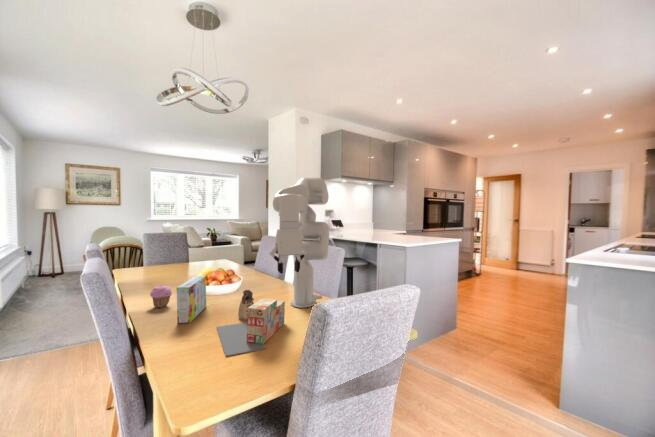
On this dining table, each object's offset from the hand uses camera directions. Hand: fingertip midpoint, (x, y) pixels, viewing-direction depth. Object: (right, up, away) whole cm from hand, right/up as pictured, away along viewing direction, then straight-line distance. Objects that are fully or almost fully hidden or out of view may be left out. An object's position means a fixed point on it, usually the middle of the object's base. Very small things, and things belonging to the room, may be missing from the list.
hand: (288, 271), depth 117 cm
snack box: (-44, -22, +16) cm, 52 cm away
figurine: (-20, -22, +13) cm, 33 cm away
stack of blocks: (-8, -22, -3) cm, 24 cm away
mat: (-17, -23, -8) cm, 29 cm away
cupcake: (-64, -21, +26) cm, 72 cm away
